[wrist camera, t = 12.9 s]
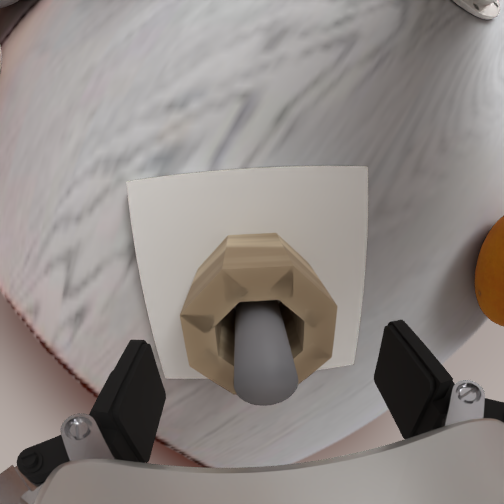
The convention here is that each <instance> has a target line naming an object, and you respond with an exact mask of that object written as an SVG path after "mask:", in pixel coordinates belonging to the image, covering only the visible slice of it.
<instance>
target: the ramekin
mask: <svg viewBox="0 0 504 504" xmlns="http://www.w3.org/2000/svg"><path fill="white" fill-rule="evenodd" d="M1 65H2V53H1V46H0V72H1Z"/></svg>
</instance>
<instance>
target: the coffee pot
mask: <svg viewBox="0 0 504 504" xmlns="http://www.w3.org/2000/svg"><path fill="white" fill-rule="evenodd" d="M17 1H19V0H0V8H3V7H6V6H9V5H11V4H14V3H16V2H17Z"/></svg>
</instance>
